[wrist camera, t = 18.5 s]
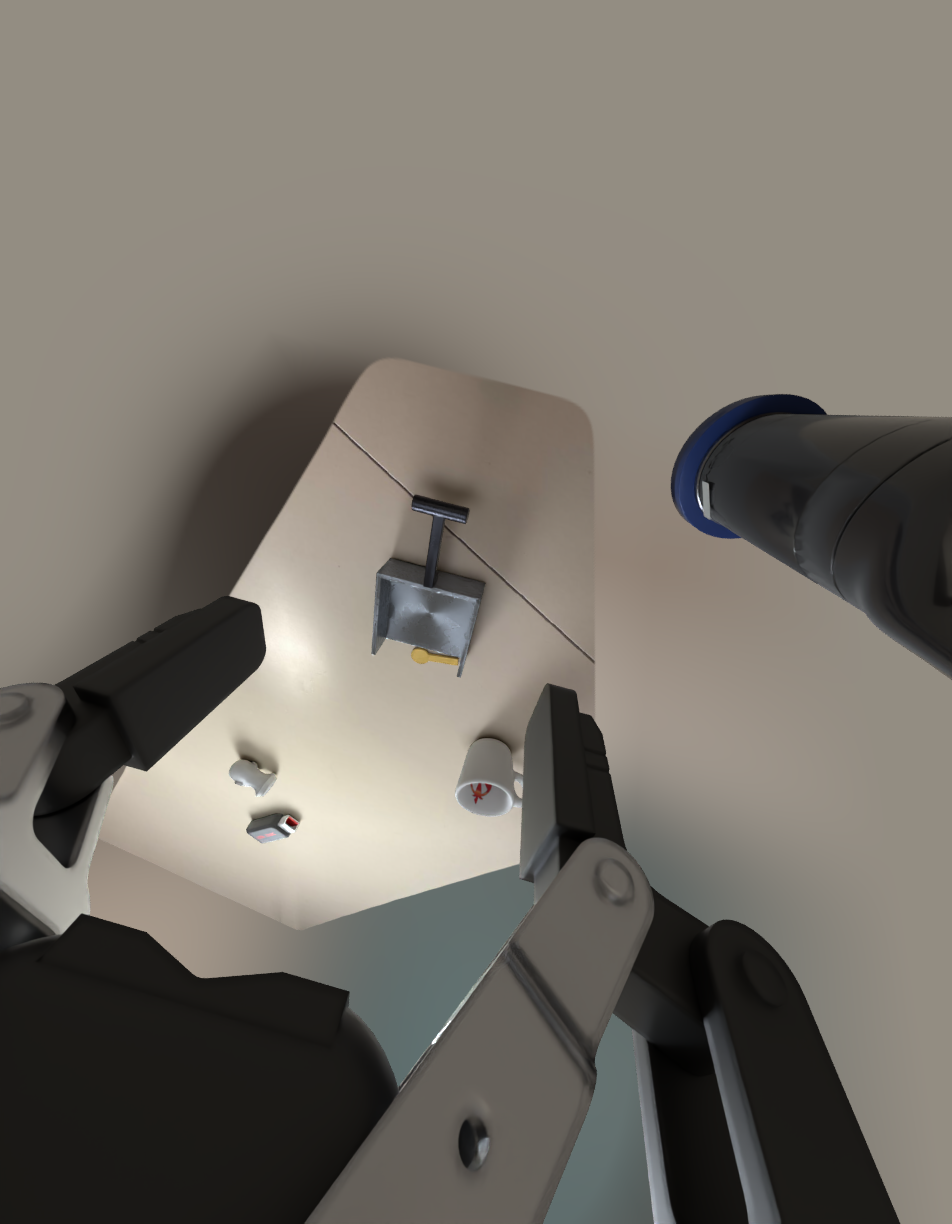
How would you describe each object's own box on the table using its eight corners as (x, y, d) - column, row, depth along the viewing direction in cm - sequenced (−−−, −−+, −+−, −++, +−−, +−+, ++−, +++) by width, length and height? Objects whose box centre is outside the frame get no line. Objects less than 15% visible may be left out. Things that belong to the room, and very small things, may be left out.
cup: (543, 752, 51) (544, 805, 44) (517, 779, 55) (515, 831, 49) (478, 723, 50) (469, 773, 43) (456, 753, 54) (445, 802, 47)
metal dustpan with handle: (505, 505, 34) (501, 519, 30) (466, 656, 44) (459, 681, 40) (397, 477, 34) (378, 487, 30) (383, 634, 44) (368, 657, 40)
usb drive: (251, 820, 76) (242, 833, 73) (286, 810, 71) (277, 824, 69) (269, 833, 78) (260, 846, 75) (303, 824, 73) (296, 838, 71)
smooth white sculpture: (240, 755, 65) (243, 752, 62) (276, 778, 67) (281, 776, 64) (220, 777, 63) (222, 775, 59) (259, 800, 64) (263, 799, 61)
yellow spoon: (410, 647, 44) (411, 645, 45) (411, 662, 46) (412, 660, 46) (458, 655, 44) (458, 653, 44) (457, 669, 45) (457, 667, 45)
